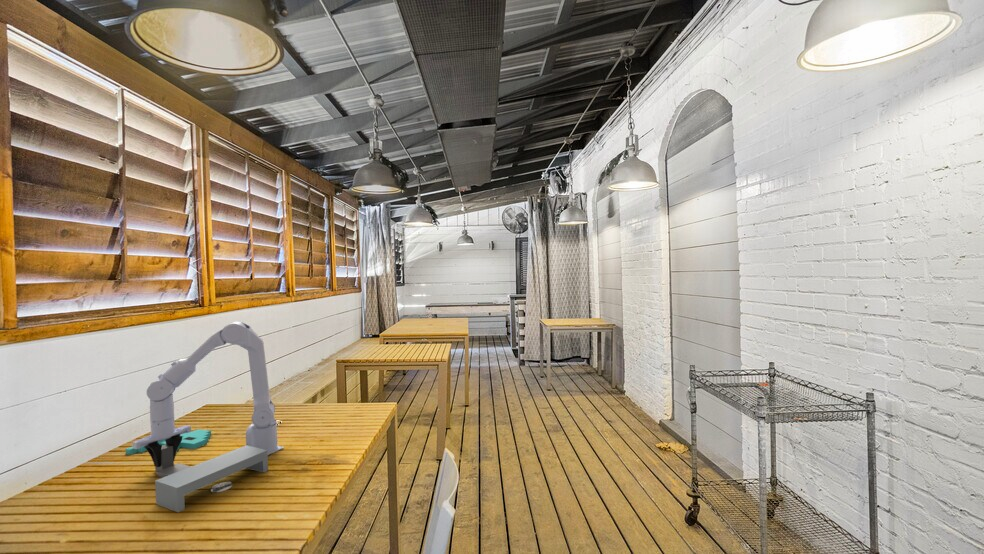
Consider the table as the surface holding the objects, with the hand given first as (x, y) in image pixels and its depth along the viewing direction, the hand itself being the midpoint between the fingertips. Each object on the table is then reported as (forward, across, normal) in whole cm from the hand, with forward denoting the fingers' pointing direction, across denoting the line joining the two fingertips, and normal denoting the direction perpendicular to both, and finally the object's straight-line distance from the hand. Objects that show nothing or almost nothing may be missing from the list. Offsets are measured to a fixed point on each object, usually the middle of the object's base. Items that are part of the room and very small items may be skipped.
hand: (164, 463), depth 128 cm
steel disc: (+2, 0, +28) cm, 29 cm away
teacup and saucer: (+3, -37, -7) cm, 37 cm away
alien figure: (+3, -13, -19) cm, 23 cm away
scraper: (+2, 0, +9) cm, 9 cm away
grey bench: (+2, 0, +26) cm, 26 cm away
